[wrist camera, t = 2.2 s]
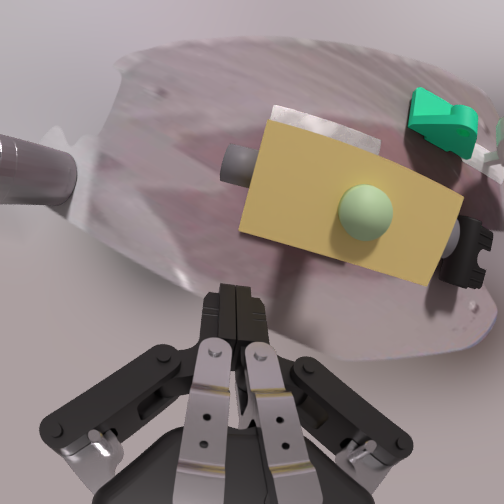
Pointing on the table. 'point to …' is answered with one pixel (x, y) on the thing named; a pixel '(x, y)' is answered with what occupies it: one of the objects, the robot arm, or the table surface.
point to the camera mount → (444, 123)
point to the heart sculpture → (490, 157)
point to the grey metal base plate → (325, 128)
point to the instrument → (343, 203)
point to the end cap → (467, 255)
